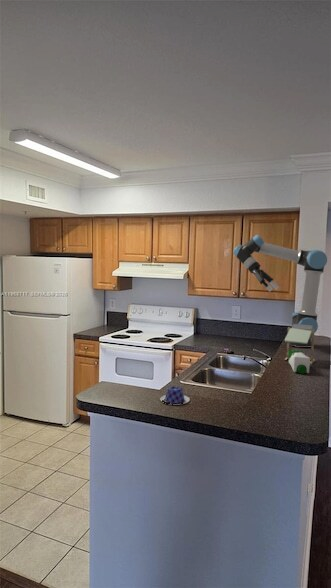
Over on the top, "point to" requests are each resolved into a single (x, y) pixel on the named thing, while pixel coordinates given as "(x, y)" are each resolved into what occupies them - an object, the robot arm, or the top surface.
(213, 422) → the top surface
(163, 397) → the pudding
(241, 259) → the robot arm
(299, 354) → the soya milk
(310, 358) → the trapdoor stand
